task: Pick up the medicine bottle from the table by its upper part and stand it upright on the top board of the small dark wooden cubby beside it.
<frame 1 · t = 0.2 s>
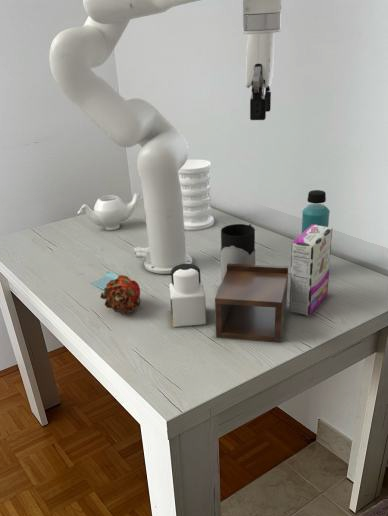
hand: (260, 115, 119), 37 cm above the table, tool pointing down, fingers open, 9 cm apart
teapot: (112, 228, 170), on the table
decorative container: (195, 223, 169), on the table
beverage bottle: (311, 272, 136), on the table
black and white mug: (241, 286, 131), on the table
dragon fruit: (123, 309, 124), on the table
dark wooden cubby: (252, 322, 116), on the table
candy bar box: (308, 304, 122), on the table
medicine bottle: (188, 318, 119), on the table
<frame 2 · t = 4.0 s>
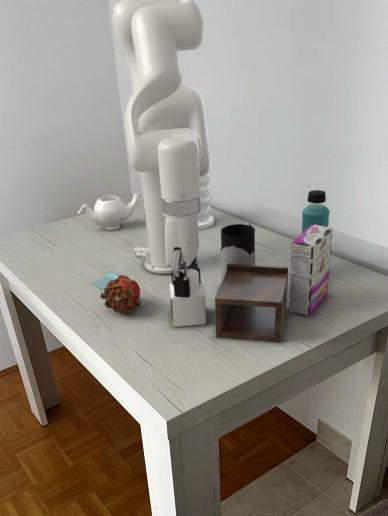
hand: (186, 287, 115), 7 cm above the table, tool pointing down, fingers closed on medicine bottle, 6 cm apart
medicine bottle: (188, 318, 119), on the table, touching gripper
everything else where it was.
when the fingers open (16 cm above the table, at t = 9.7 s): medicine bottle stays where it is, resting on dark wooden cubby.
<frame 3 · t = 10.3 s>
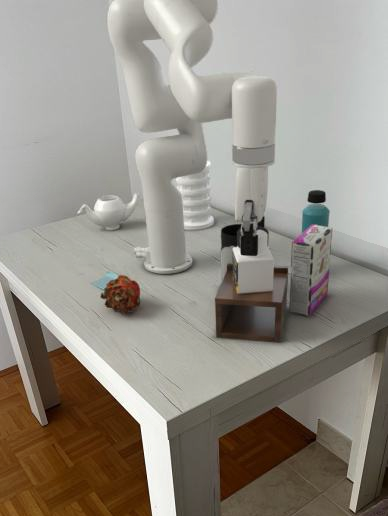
hand: (252, 245, 106), 18 cm above the table, tool pointing down, fingers open, 9 cm apart
medicine bottle: (252, 286, 111), point 9 cm above the table, touching dark wooden cubby
everything else where it was.
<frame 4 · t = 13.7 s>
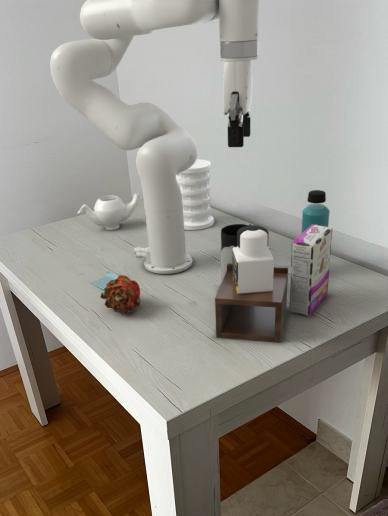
hand: (239, 141, 117), 32 cm above the table, tool pointing down, fingers open, 9 cm apart
nothing on the table moved.
at the end: medicine bottle inside the target area on the dark wooden cubby (0.3 cm from its centre), point 8.8 cm above the dark wooden cubby's base; medicine bottle tilted 0°; the gripper is holding nothing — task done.
